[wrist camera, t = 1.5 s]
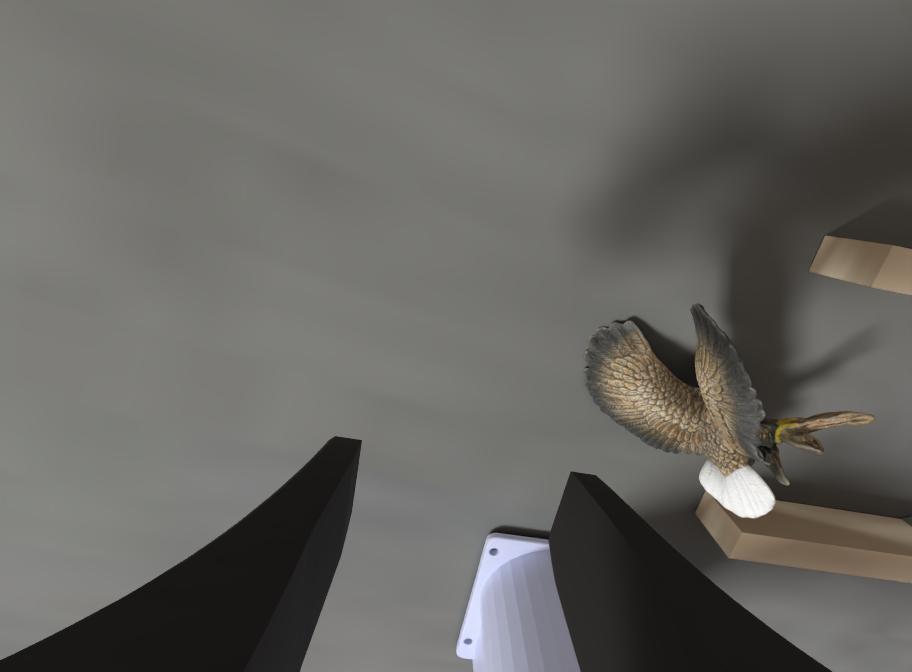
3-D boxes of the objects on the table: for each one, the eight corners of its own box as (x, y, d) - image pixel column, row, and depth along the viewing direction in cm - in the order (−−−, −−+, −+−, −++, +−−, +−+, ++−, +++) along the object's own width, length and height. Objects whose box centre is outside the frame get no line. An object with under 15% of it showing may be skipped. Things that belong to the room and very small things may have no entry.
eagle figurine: (833, 335, 19) (697, 247, 16) (919, 500, 15) (758, 426, 12) (683, 398, 25) (559, 343, 22) (715, 532, 21) (568, 488, 17)
